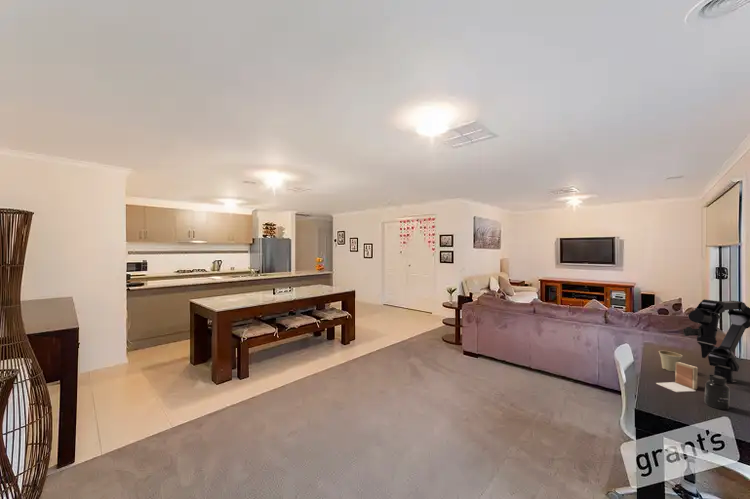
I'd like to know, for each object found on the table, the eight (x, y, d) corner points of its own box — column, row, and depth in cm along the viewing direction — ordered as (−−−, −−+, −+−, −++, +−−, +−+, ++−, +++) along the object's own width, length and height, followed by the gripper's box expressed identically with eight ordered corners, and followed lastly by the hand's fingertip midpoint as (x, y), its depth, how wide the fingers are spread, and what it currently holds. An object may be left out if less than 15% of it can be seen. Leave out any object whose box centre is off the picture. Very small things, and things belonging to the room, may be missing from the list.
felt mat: (674, 383, 150) (674, 382, 150) (695, 391, 141) (695, 390, 141) (656, 383, 149) (656, 382, 149) (676, 392, 140) (676, 391, 140)
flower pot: (687, 373, 162) (687, 357, 162) (666, 372, 164) (666, 355, 164) (673, 367, 171) (674, 351, 171) (653, 365, 173) (654, 350, 173)
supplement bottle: (725, 411, 123) (726, 381, 123) (701, 404, 129) (702, 375, 129) (731, 408, 126) (732, 378, 126) (708, 400, 132) (708, 372, 132)
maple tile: (678, 382, 150) (679, 362, 150) (697, 389, 144) (697, 367, 144) (674, 383, 150) (675, 362, 150) (693, 389, 143) (693, 367, 143)
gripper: (685, 322, 163) (680, 351, 162) (684, 320, 151) (679, 352, 150) (717, 328, 155) (712, 359, 154) (719, 327, 143) (713, 361, 142)
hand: (703, 357), depth 150 cm, fingers closed
